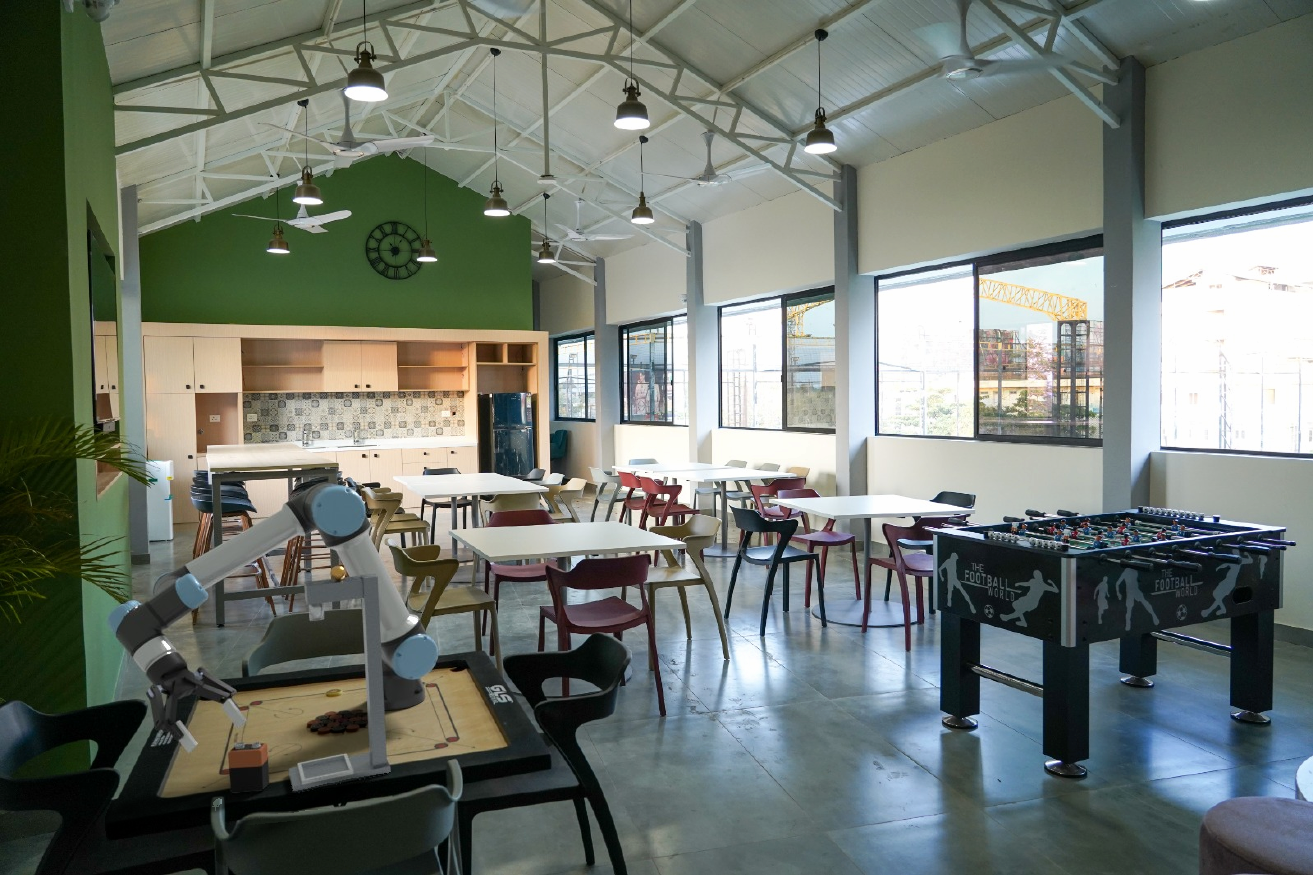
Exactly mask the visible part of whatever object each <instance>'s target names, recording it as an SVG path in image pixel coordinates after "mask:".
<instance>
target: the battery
mask: <svg viewBox="0 0 1313 875" xmlns="http://www.w3.org/2000/svg"><path fill="white" fill-rule="evenodd" d="M268 752H269V751H268V744H267V743H266V742H263V743H262V742H259V741H255V742H253V743H246V742H244V741H239V742H235V744H233V747H232V748H231V749H230V750H229V751H228V753H227V755H228V756H227V757H228V758H227V759H228V771H229V772H228V773H229V774H228V775H229V788H230V790H229V792H230V793H231V792H244V791H253V790H254V791H255V790H263V789H264V788H265V787H266V788H267V786H268V785H269V784H270V772H269V756H268V755H269V754H268ZM266 788H265V789H266ZM265 789H264V790H265ZM264 790H263V791H264Z"/></svg>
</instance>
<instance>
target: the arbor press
mask: <svg viewBox="0 0 1313 875" xmlns="http://www.w3.org/2000/svg"><path fill="white" fill-rule="evenodd" d="M346 574H347V571H346V569H345V567H343V566H341V565H335V566H333V567H332V568H331V569H330V573H329V575H330V579H329V578H327V579H320V580H319V579H318V580H313V581H312V580H311V581H304V582H303V583H304V587H303V588H304V599H305V600H304V601H305V602H306V605H307V606H308V613H309V615H308V616H309V617H308V618H309V621H310V622H319V621H322V620H324V619H325V608H324V604H325V603H326V604H327V603H334V602H335V603H336V602H342V601H343V602H344V601H349V600H356V599H361V598H362V599H361V607H362V608H361V609H362V628H363V629H362V630H363V646H364V647H363V649H364V665H365V666H364V668H365V688H366V689H365V690H366V706H367V707H366V708H367V710H366V711H367V728H368V729H367V730H368V745H369V746H368V747H369V748H368V749H369V750H368V751H369V752H364V753H360V754H354V755H349V756H348V754H347V753H341V754H336V755H332V756H327V757H323V758H322V757H320V758H316V759H310V760H307V761H302V762H297V766H293V767H290V768H288V777H289V780H290V784H291V785H292V786H291V785H290V786H291V789H293V790H292V792H293V791H298V790H303V789H308V788H311V787H315V786H319V785H323V784H327V783H335V782H339V781H342V780H346V779H351V778H359V777H364V776H370V775H376V774H383V775H385V774H384V773H387V774H390V773H389V772H391V771H392V770H391V765H390V762H389V761H388V759H387V758H388V757H387V739H386V738H387V737H386V736H387V735H386V718H385V717H386V716H385V710H384V693H383V673H382V653H381V633H380V613H379V593H378V576H377V575H376V574H375V573H374V574H366V575H361V576H353V577H350V576H347V577H346Z"/></svg>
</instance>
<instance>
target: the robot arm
mask: <svg viewBox="0 0 1313 875" xmlns="http://www.w3.org/2000/svg"><path fill="white" fill-rule="evenodd" d="M371 529H372V525H371V522H370V520H369V519H368V516H367V514H366V505H365V502H364V501H363V498H362V497H361V496H360V495H359V493H358V492H357V491H355V490H354V489H352V488H350V487H348V486H345V485H342V484H341V485H340V484H337V483H333V482H321V483H317V484H315V485H312V486H311V487H309V488H308V489H305V490H304V491H302V492H301V493H300V494H298V495H296V496H295V497H294V498H292V499H290V500H289V501H286V502H285V503H283V504H282V507H281V510H279V511H277V512H275V513H273V514H272V515H270V516H268V517H267V518H265V519H263V520H261V521H259V522H258V523H256V524H254V525H252V526H251V527H249V528H247V529H246V530H244V531H242V532H240V533H239V534H236V535H235V536H234V537H231V538H230V539H228V540H226V541H224V542H223V543H221V544H220V545H219V544H218V546H215V547H213V548H212V549H210V550H209V551H207V552H205V553H203V554H201V555H200V556H198V557H197V558H195V559H193V560H191V561H189V562H188V563H186V564H185V565H183V566H181V567H179V568H177V569H175V570H173V571H170V572H168V571H167V572H165V573H163V574H161V575H160V576H158V577H157V579H156V580H155V581H154V584H153V588H152V594H153V596H152V597H151V598H149V599H148V600H146V601H145V602H143V603H140V602H139V601H138V600H135V599H133V600H128V601H126V602H125V603H123V604H120V605H118V606H116V607H115V608H114V609H113V610H112V611H111V612H110V613H109V615H108V616H107V619H106V622H107V625H108V627H109V628H110V629H111V631H112V633H113V634H114V636H115V637H116V639H117V640H118V642H119V643H120V644H121V645H122V646H123V648H124V649H125V650H126V651H127V652H128V653H129V655H130V656H131V657H132V659H133V660H134V662H135V663H136V664H137V666H138V667H139V668H140V669H141V671H142V672H144V673H145V677H147V678H148V680H149V681H150V682H151V684H152V685H151V686H150V687H149V688H148V690H147V691H146V692H145V695H146V696H147V698H148V699H149V702H150V709H151V715H152V719H153V725H154V726H153V728H154V730H155V731H162V732H163V733H167V732H169V734H170V735H171V736H172V737H173V739H174V740H175V741H178V742H179V743H180V744H181V745H182V747H183V748H184V749H185V750H186V752H187V753H188V754H191V753H192V752H194V750H195V749H196V748H197V746H198V745H199V743H198V742H197V741H196V739H195V738H194V735H192V734H191V733H190V731H189V730H188V729H187V727H186V726H185V724H183V722H182V721H181V720H180V719H179V720H177V721H176V719H177V712H178V711H177V709H178V702H179V701H178V700H180V699H182V698H184V697H188V696H190V695H192V696H200V697H203V698H204V699H208V700H210V701H213V702H216V703H219V704H221V710H223V711H224V713H225V715H226V716H228V718H229V719H230V721H231V722H232V724H233V725H235V727H236V728H237V730H240V729H242V728H243V727H244V726H245V725H246V723H247V722H248V719H247V718H246V717H245V715H244V713H243V712H241V708H240V706H239V705H238V704H237V703H236V701H235V699H233V698H234V696H235V694H236V693H237V692H238V691H237V690H236V689H235V688H233V687H232V686H231V685H229V684H227V683H225V682H224V681H222V680H221V679H219V678H217V677H216V676H214V675H212V674H210V673H209V672H208V671H207V670H206V669H205V668H204V666H199V667H198V668H197V669H196V670H195V671H193V672H192V671H190V670H189V668H188V662H187V661H186V660H185V659H184V658H183V656H182V655H181V654H180V653H179V652H178V651H177V649H176V647H175V646H174V644H172V642H171V641H170V640H169V638H168V637H167V636H166V635H165V633H164V632H163V631H165V630H166V629H168V628H169V627H171V626H172V625H173V624H175V623H177V622H178V621H179V620H181V619H182V618H184V617H186V616H187V615H188V614H190V613H191V612H192V611H194V610H196V609H198V608H199V607H200V606H201V605H202V604H203V603H205V602H206V601H208V599H209V593H208V591H206V589H208V588H210V587H212V586H213V585H215V584H217V583H219V582H221V581H222V580H224V579H226V578H228V577H229V576H230V575H233V574H234V573H236V572H237V571H239V570H241V569H243V568H245V567H246V566H248V565H249V564H251V563H253V562H254V561H256V560H258V559H260V558H261V557H263V556H265V555H267V554H269V553H271V552H272V551H273V550H275V549H277V548H279V547H280V546H282V545H283V544H285V543H287V542H289V541H290V540H292V539H293V538H296V537H297V536H301V537H305V536H306V535H309V534H310V533H313V532H315V531H317V532H318V533H319V535H320V538H321V540H322V541H323V543H324V545H325V547H326V548H327V549H330V550H334V551H335V552H336V554H337V555H338V557H339V559H340V561H341V563H342V565H343V566H344V567H343V568H344V569H345V571H346V573H347V574H348V577H353V576H361V575H366V574H374V573H375V574H376V575H377V576H378V593H379V613H380V633H381V653H382V673H383V693H384V711H394V710H400V709H407V708H411V707H414V706H416V705H418V704H421V703H422V702H423V701H425V699H426V688H425V685H424V683H423V681H422V678H423V677H424V676H427V675H428V674H429V673H430V672H431V671H433V669H434V667H435V666H436V663H437V661H438V658H439V648H438V646H437V644H436V642H435V640H434V639H433V637H432V636H430V635H429V634H428V633H427V632H426V630H425V627H424V625H423V624H422V622H421V620H420V618H419V616H418V615H416V614H412V613H410V612H409V610H408V608H407V607H406V604H405V602H404V600H403V598H402V596H401V594H400V592H399V591H398V588H397V587H396V584H395V582H394V581H393V579H392V577H391V575H390V572H389V571H388V569H387V567H386V565H385V563H384V561H383V559H382V557H381V556H380V553H379V551H378V550H377V548H376V546H375V544H374V542H373V540H372V537H371V536H370V531H371ZM360 599H361V600H362V598H360ZM163 695H165V697H166V698H165V704H166V706H164V700H163Z"/></svg>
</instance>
